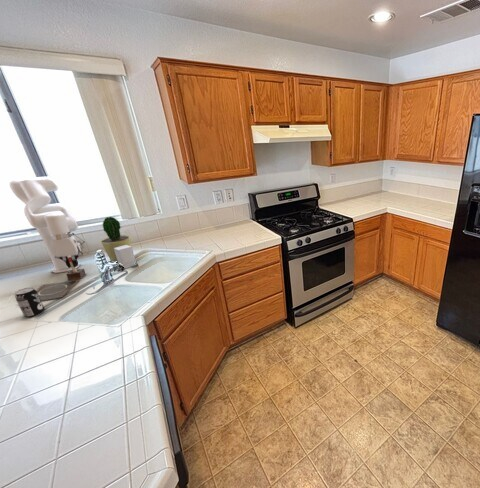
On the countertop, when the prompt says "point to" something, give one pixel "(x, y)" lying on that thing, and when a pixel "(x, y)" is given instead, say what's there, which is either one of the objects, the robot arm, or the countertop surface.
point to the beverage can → (29, 302)
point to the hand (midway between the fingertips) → (73, 266)
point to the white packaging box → (125, 256)
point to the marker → (72, 264)
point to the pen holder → (76, 274)
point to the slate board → (55, 290)
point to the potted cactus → (113, 237)
